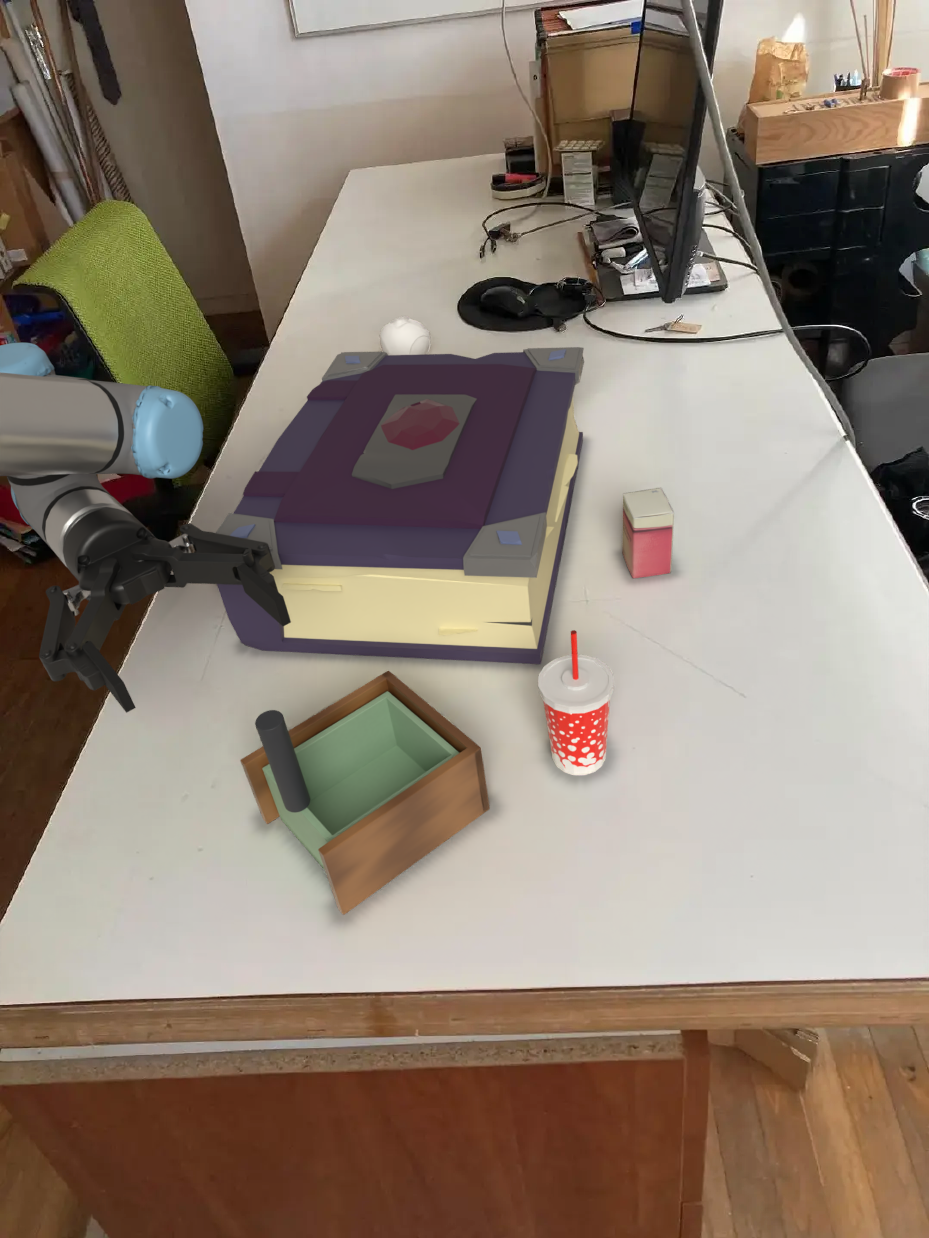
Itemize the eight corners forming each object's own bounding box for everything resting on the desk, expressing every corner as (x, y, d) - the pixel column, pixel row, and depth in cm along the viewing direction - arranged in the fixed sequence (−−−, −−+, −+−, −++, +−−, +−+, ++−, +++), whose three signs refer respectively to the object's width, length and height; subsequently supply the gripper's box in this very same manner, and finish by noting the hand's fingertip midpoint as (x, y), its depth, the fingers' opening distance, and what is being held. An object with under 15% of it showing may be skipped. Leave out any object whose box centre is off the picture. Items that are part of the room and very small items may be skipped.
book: (225, 651, 96) (185, 540, 87) (347, 437, 130) (327, 341, 121) (545, 667, 89) (536, 548, 80) (587, 436, 123) (584, 334, 114)
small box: (621, 553, 102) (621, 491, 97) (659, 547, 102) (661, 485, 97) (632, 580, 98) (632, 518, 93) (672, 574, 98) (675, 511, 93)
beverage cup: (608, 787, 77) (607, 663, 68) (536, 777, 79) (525, 654, 70) (619, 733, 81) (619, 610, 73) (551, 725, 83) (542, 603, 74)
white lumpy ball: (438, 354, 148) (432, 306, 143) (426, 375, 143) (419, 326, 138) (391, 354, 150) (383, 307, 145) (377, 375, 144) (368, 327, 140)
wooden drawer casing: (343, 915, 70) (323, 855, 66) (262, 819, 78) (239, 759, 74) (490, 809, 77) (481, 747, 72) (401, 730, 85) (388, 669, 80)
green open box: (339, 901, 71) (293, 767, 61) (273, 824, 78) (223, 691, 68) (470, 807, 77) (448, 670, 67) (399, 742, 83) (369, 609, 74)
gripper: (234, 521, 93) (350, 614, 79) (-15, 640, 82) (70, 772, 68) (213, 455, 88) (332, 542, 74) (-54, 572, 77) (29, 700, 64)
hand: (207, 653), depth 71 cm, fingers open, 13 cm apart
